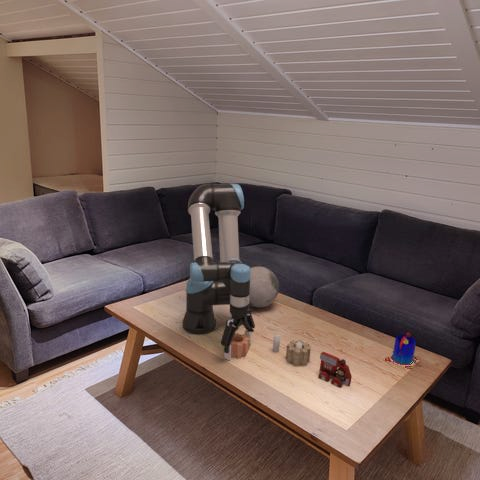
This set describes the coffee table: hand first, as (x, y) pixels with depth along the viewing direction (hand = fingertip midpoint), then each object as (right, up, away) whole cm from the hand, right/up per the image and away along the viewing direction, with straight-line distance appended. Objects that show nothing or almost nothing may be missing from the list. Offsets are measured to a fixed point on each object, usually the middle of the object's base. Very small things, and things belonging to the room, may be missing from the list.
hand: (237, 352), depth 178 cm
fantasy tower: (+66, -3, -1) cm, 66 cm away
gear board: (+19, -2, -3) cm, 19 cm away
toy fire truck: (+35, -7, -16) cm, 39 cm away
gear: (+23, -1, -6) cm, 24 cm away
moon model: (+10, +13, +41) cm, 44 cm away
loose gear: (0, 0, 0) cm, 0 cm away
